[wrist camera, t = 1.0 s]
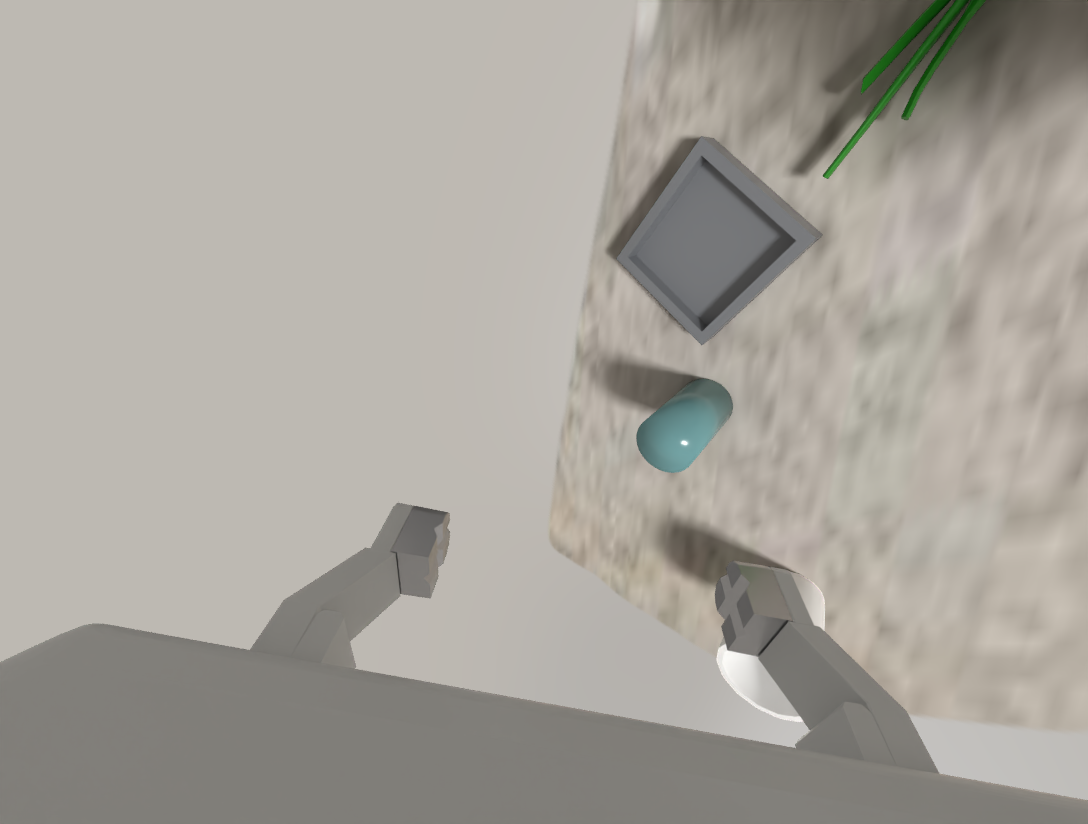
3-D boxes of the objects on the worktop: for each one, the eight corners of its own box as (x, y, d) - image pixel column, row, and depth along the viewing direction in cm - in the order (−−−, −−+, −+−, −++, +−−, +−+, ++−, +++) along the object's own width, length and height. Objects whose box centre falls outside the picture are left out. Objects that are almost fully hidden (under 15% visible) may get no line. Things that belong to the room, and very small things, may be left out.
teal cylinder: (705, 368, 47) (662, 405, 39) (744, 408, 46) (708, 454, 38) (670, 399, 51) (625, 437, 44) (705, 436, 50) (665, 482, 43)
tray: (713, 138, 38) (701, 136, 36) (822, 235, 36) (816, 238, 34) (629, 254, 47) (616, 258, 45) (712, 337, 45) (701, 345, 43)
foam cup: (742, 556, 53) (704, 632, 45) (826, 562, 47) (801, 652, 38) (766, 618, 55) (734, 704, 46) (851, 633, 48) (832, 735, 39)
